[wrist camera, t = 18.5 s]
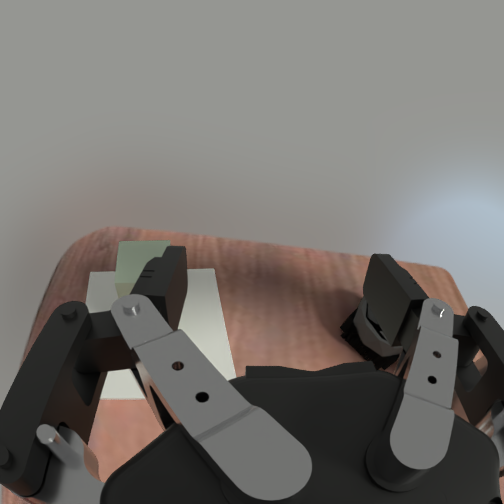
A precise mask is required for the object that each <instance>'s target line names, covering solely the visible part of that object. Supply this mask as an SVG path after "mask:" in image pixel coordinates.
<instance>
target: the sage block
mask: <svg viewBox="0 0 504 504" xmlns="http://www.w3.org/2000/svg"><path fill="white" fill-rule="evenodd" d="M167 246H170V240H157V241H119V247H118V254H117V263H116V272H115V282H114V283H115V287H116V291H117V295H118V299H119V298H120V297H123V296H126V295H129V294H130V292H131V291H132V289H133V287H134V285H135V283H136V281H137V279H138V277H139V276H140V274H141V272H142V271H143V268H144V267H145V265H146V263H147V262H148V261H150V260H151V259H153V258H154V257H162V255H163V253H164V251H165V249H166V247H167Z"/></svg>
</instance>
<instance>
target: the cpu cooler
mask: <svg viewBox="0 0 504 504" xmlns="http://www.w3.org/2000/svg"><path fill="white" fill-rule="evenodd" d="M340 329H341V330H342V331H343V332H344V334H345V333H346V334H345V335H344V334H342V335H341V336H343V335H344V336H343V337H342V338H344V337H345V336H346V335H347V334H348V333H350V334H349V335H348V336H350V335H351V334H352V333H353V334H352V335H351V336H350V337H352V336H353V335H354V334H355V333H357V334H359V335H358V336H356V335H357V334H356V335H355V336H356V337H355V336H354V337H355V338H354V337H353V338H354V339H353V338H352V339H353V340H352V341H351V342H353V341H354V340H355V339H356V338H357V337H358V338H357V339H356V340H355V341H354V342H353V343H352V344H354V343H355V342H356V341H357V340H358V341H357V342H356V343H355V344H354V345H356V344H357V343H358V342H359V341H360V340H361V341H360V342H359V343H358V344H357V345H356V347H357V346H358V345H359V344H360V343H361V344H360V345H359V346H358V348H359V347H360V346H361V347H360V348H359V349H358V348H357V349H358V350H360V349H361V348H362V349H361V350H360V351H362V350H363V351H362V352H361V353H360V355H361V354H362V353H364V352H365V351H366V352H365V353H364V354H363V355H365V354H366V353H367V354H366V355H365V356H364V357H366V358H367V359H368V360H369V361H370V360H371V361H372V362H373V364H375V365H374V367H375V366H376V367H375V369H376V368H377V367H378V368H377V369H376V370H378V369H379V368H381V367H382V368H383V369H384V370H385V369H387V368H388V367H389V366H390V365H392V364H393V363H394V362H395V361H397V359H398V357H399V355H400V353H401V351H402V349H403V346H396V347H391V346H390V344H389V342H388V340H387V338H386V337H385V335H384V333H383V331H382V329H381V327H380V325H379V323H378V321H377V320H376V318H375V316H374V314H373V312H372V310H371V308H370V307H369V305H368V303H367V301H366V299H365V298H364V296H363V298H362V299H361V301H360V304H359V306H358V308H357V309H356V310H355V311H354V312H353V313H352V314H351V315H350V316H349V317H348V318H347V320H346V321H345V322H344V323H343V325H342V326H341V327H340ZM348 336H347V337H348ZM350 337H349V338H350ZM349 338H347V339H346V340H345V341H347V340H348V339H349ZM351 342H350V343H351ZM350 343H349V344H350ZM352 344H351V345H352ZM354 345H353V346H354ZM353 346H352V347H353ZM357 349H356V350H357ZM358 350H357V351H358ZM360 351H359V352H360ZM359 352H358V353H359ZM366 358H365V359H366ZM367 359H366V360H367Z"/></svg>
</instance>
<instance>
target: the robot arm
mask: <svg viewBox="0 0 504 504" xmlns="http://www.w3.org/2000/svg"><path fill="white" fill-rule="evenodd" d="M187 290H188V274H187V258H186V248H185V246H167V247H166V249H165V251H164V253H163V255H162V257H154V258H153V259H151V260H150V261H148V262H147V263H146V265H145V267H144V268H143V271H142V272H141V274H140V276H139V277H138V279H137V281H136V283H135V285H134V287H133V289H132V291H131V292H130V294H129V295H126V296H123V297H120V298H119V299H117V300H116V301H115V302H114V303H113V304H112V306H111V310H109V311H103V312H95V313H89V310H88V307H87V306H86V305H85V304H84V303H82V302H78V301H71V302H67V303H64V304H62V305H60V306H59V307H57V308H56V309H55V310H54V312H53V313H52V315H51V316H50V318H49V319H48V321H47V323H46V324H45V326H44V328H43V329H42V331H41V333H40V334H39V336H38V338H37V339H36V341H35V343H34V344H33V346H32V348H31V350H30V352H29V353H28V355H27V357H26V359H25V361H24V362H23V364H22V366H21V368H20V370H19V372H18V374H17V376H16V378H15V380H14V382H13V384H12V386H11V388H10V390H9V392H8V394H7V396H6V398H5V401H4V403H3V405H2V407H1V410H0V484H2V485H3V486H5V487H6V488H8V489H9V490H10V491H11V492H12V493H14V494H15V495H17V496H18V497H20V498H22V499H23V500H25V501H27V502H28V503H30V504H503V503H502V500H501V495H500V485H499V477H503V476H504V330H503V329H502V328H501V327H500V325H499V324H498V323H497V321H496V320H495V319H494V318H493V316H492V315H491V314H490V313H489V312H488V311H486V310H485V309H483V308H481V307H477V306H472V307H470V308H469V309H468V311H467V313H466V315H465V316H461V315H455V314H454V312H453V310H452V308H451V307H450V306H449V305H448V304H447V303H445V302H444V301H442V300H439V299H435V298H429V297H428V296H427V294H426V293H425V292H424V291H423V290H422V288H421V287H420V286H419V285H418V284H417V282H416V281H415V280H414V279H413V277H412V276H411V275H410V274H409V273H408V271H406V270H405V269H404V268H402V267H401V266H399V265H398V264H397V263H396V261H395V260H394V259H393V258H392V257H391V256H390V255H389V254H373V255H372V256H371V258H370V262H369V266H368V270H367V273H366V277H365V281H364V285H363V294H364V298H365V299H366V301H367V303H368V305H369V307H370V308H371V310H372V312H373V314H374V316H375V318H376V320H377V321H378V323H379V325H380V327H381V329H382V331H383V333H384V335H385V337H386V338H387V340H388V342H389V344H390V346H391V347H396V346H403V349H402V351H401V353H400V355H399V358H398V361H397V364H396V367H395V369H394V372H393V374H392V373H389V372H385V371H381V370H376V369H375V367H374V364H373V362H372V361H364V362H353V363H343V364H340V365H337V366H333V367H330V368H326V369H323V370H319V371H306V370H299V369H293V368H287V367H282V366H246V372H245V376H241V377H237V378H233V379H230V380H228V381H227V380H226V379H225V378H224V376H223V375H222V374H221V373H220V372H219V371H218V370H217V369H216V368H215V367H214V365H213V364H212V363H211V362H210V361H209V360H208V359H207V358H206V356H205V355H204V354H203V353H202V352H201V351H200V350H199V348H198V347H197V346H196V345H195V344H194V343H193V341H192V340H191V339H190V338H189V337H188V336H187V334H186V333H185V332H184V331H183V330H181V329H178V326H179V322H180V318H181V314H182V310H183V307H184V303H185V299H186V295H187ZM479 349H480V350H481V351H482V353H483V354H484V356H482V357H481V358H480V359H478V360H477V361H476V362H473V359H474V357H475V356H476V354H477V353H478V351H479ZM125 369H129V370H130V372H131V374H132V376H133V378H134V379H135V381H136V383H137V385H138V386H139V388H140V390H141V392H142V393H143V395H144V397H145V399H146V400H147V402H148V404H149V405H150V407H151V409H152V411H153V413H154V415H155V417H156V419H157V421H158V422H159V424H160V426H161V427H162V429H163V430H164V432H163V433H162V434H160V435H159V436H158V437H157V438H156V439H155V440H153V441H152V442H151V443H150V444H148V445H147V446H146V447H145V448H144V449H142V450H141V451H140V452H139V453H137V454H136V455H135V456H134V457H132V458H131V459H130V460H128V461H127V462H126V463H125V464H123V465H122V466H121V467H119V468H118V469H117V470H116V471H114V472H113V473H112V474H111V475H110V477H109V478H108V479H107V481H106V482H105V483H103V482H101V480H100V477H99V472H98V469H99V465H98V460H97V457H96V456H95V454H94V453H93V452H92V450H91V449H90V448H89V447H88V441H89V437H90V433H91V429H92V425H93V422H94V418H95V414H96V411H97V407H98V403H99V400H100V397H101V393H102V390H103V386H104V383H105V380H106V377H107V374H108V372H109V371H117V370H125Z"/></svg>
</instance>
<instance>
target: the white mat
mask: <svg viewBox="0 0 504 504" xmlns="http://www.w3.org/2000/svg"><path fill="white" fill-rule="evenodd" d="M115 272H116V271H112V272H90V277H89V283H88V290H87V297H86V306H87V307H88V310H89V313H95V312H103V311H109V310H111V306H112V304H113V303H114V302H115V301H116V300H117V299H118V295H117V291H116V287H115V283H114V282H115ZM187 274H188V290H187V295H186V299H185V303H184V307H183V310H182V314H181V318H180V322H179V326H178V329H181V330H183V331H184V332H185V333H186V334H187V336H188V337H189V338H190V339H191V340H192V341H193V343H194V344H195V345H196V346H197V347H198V348H199V350H200V351H201V352H202V353H203V354H204V355H205V356H206V358H207V359H208V360H209V361H210V362H211V363H212V364H213V365H214V367H215V368H216V369H217V370H218V371H219V372H220V373H221V374H222V375H223V376H224V378H225V379H226V380H227V381H228V380H230V379H233V378H236V374H235V370H234V365H233V361H232V356H231V351H230V347H229V342H228V337H227V332H226V327H225V322H224V318H223V313H222V307H221V302H220V297H219V292H218V287H217V282H216V276H215V271H214V268H211V269H187ZM100 399H104V400H142V399H145V397H144V395H143V393H142V392H141V390H140V388H139V386H138V385H137V383H136V381H135V379H134V378H133V376H132V374H131V372H130V370H129V369H125V370H117V371H109V372H108V374H107V377H106V380H105V383H104V386H103V390H102V393H101V397H100Z"/></svg>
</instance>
